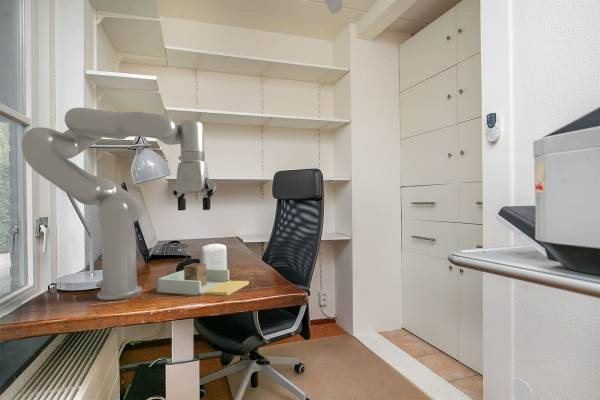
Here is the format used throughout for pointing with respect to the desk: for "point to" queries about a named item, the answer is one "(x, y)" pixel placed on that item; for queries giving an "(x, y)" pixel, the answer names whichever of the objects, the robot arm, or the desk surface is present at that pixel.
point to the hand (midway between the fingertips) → (194, 210)
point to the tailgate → (227, 288)
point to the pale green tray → (191, 282)
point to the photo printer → (214, 256)
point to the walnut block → (196, 273)
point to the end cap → (186, 263)
